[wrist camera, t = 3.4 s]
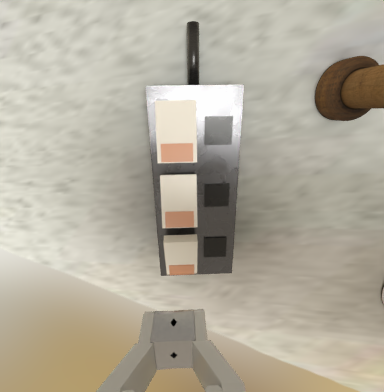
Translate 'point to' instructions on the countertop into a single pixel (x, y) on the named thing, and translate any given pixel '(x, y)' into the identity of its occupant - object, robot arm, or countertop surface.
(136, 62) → the countertop surface
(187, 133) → the rocker
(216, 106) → the power strip
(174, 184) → the rocker middle
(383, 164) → the countertop surface
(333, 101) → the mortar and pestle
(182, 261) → the block
